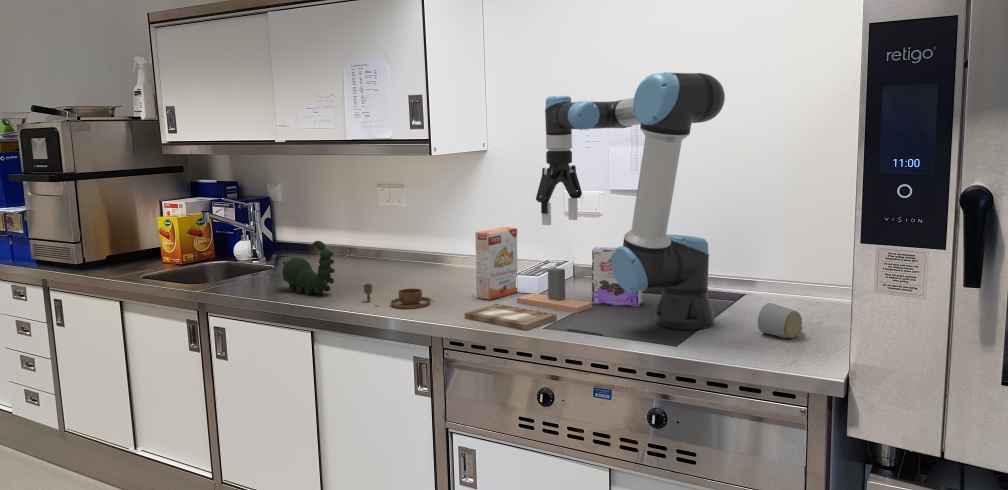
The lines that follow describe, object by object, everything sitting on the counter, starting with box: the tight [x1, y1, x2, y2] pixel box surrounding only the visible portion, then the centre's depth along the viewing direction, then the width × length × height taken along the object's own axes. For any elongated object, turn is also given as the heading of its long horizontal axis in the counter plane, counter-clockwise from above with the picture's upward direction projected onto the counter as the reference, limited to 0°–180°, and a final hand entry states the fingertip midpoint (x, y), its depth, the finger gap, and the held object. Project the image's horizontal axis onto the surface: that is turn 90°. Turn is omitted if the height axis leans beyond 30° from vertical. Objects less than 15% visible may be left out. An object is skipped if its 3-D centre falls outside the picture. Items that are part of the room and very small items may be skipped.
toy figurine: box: [281, 240, 336, 296], centre depth 248 cm, size 9×19×25 cm
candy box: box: [591, 246, 643, 308], centre depth 222 cm, size 14×6×16 cm, turn 68°
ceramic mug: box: [757, 302, 804, 339], centre depth 187 cm, size 11×8×8 cm
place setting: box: [363, 283, 435, 310], centre depth 231 cm, size 18×20×6 cm
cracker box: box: [475, 226, 518, 301], centre depth 236 cm, size 14×6×21 cm, turn 141°
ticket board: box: [464, 303, 557, 331], centre depth 209 cm, size 22×13×2 cm, turn 49°
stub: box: [516, 267, 593, 314], centre depth 223 cm, size 22×7×10 cm, turn 49°
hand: (560, 222), depth 225 cm, fingers open, 13 cm apart
